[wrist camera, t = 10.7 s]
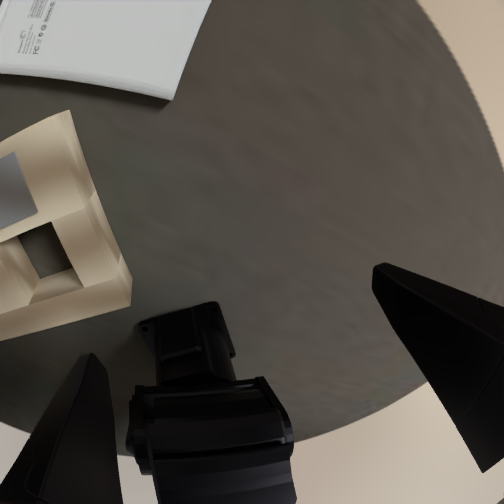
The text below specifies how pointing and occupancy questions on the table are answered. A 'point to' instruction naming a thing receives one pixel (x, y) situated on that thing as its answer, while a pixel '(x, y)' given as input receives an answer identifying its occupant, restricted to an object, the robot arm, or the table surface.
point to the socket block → (66, 226)
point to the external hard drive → (101, 41)
